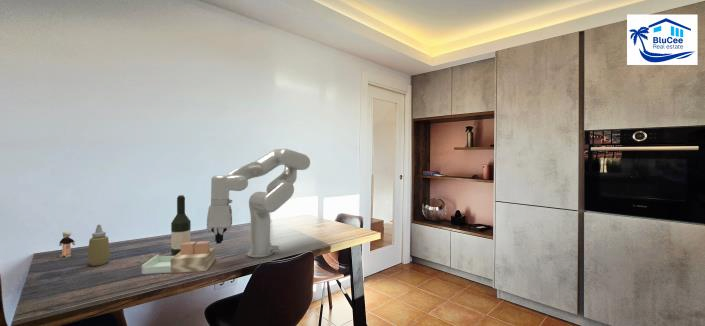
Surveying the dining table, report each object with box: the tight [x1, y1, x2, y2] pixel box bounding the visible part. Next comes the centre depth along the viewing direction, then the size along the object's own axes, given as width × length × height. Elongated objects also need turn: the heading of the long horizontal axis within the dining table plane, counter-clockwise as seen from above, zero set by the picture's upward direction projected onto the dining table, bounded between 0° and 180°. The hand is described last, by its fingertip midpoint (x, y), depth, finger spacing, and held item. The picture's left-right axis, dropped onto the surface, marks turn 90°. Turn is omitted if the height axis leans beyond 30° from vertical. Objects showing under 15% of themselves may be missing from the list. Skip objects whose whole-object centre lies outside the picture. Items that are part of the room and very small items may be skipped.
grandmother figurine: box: [58, 230, 76, 258], centre depth 144 cm, size 8×4×13 cm, turn 102°
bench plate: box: [170, 246, 217, 274], centre depth 131 cm, size 14×14×6 cm
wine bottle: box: [170, 194, 192, 256], centre depth 146 cm, size 8×8×30 cm
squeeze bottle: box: [86, 224, 111, 267], centre depth 133 cm, size 8×8×18 cm
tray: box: [141, 254, 174, 276], centre depth 128 cm, size 11×14×4 cm
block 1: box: [181, 241, 197, 255], centre depth 130 cm, size 5×4×4 cm
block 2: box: [195, 240, 211, 254], centre depth 131 cm, size 5×4×4 cm
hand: (219, 242), depth 132 cm, fingers closed
